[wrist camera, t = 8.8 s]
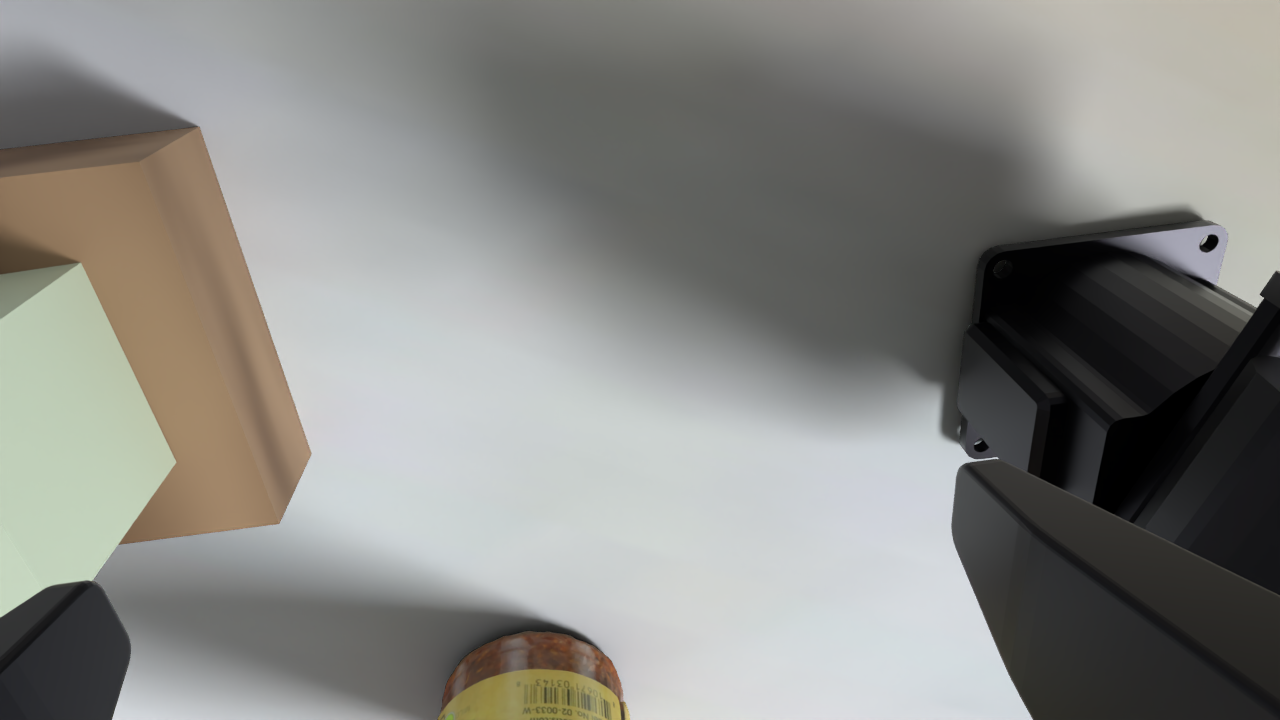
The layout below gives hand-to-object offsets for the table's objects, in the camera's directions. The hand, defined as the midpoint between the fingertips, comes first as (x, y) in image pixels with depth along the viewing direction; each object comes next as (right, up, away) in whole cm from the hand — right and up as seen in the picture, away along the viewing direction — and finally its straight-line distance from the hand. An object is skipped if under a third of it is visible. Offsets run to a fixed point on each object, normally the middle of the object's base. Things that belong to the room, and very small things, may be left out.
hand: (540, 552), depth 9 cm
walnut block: (-13, +3, +12) cm, 18 cm away
